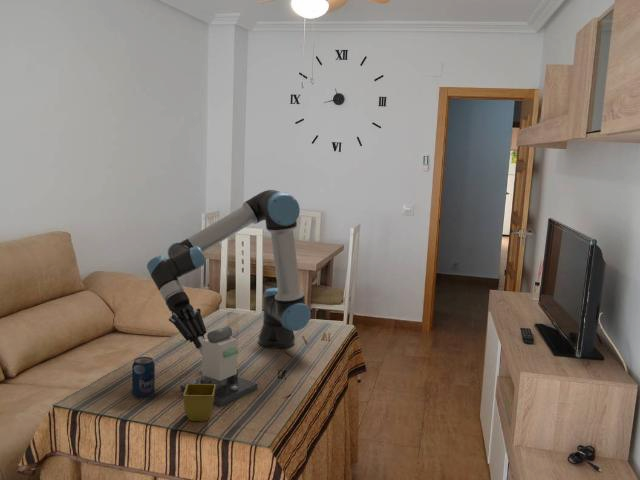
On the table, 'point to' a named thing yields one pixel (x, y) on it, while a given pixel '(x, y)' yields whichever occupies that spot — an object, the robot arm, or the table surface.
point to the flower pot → (199, 401)
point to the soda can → (143, 377)
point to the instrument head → (219, 355)
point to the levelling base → (226, 388)
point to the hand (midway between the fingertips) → (207, 354)
